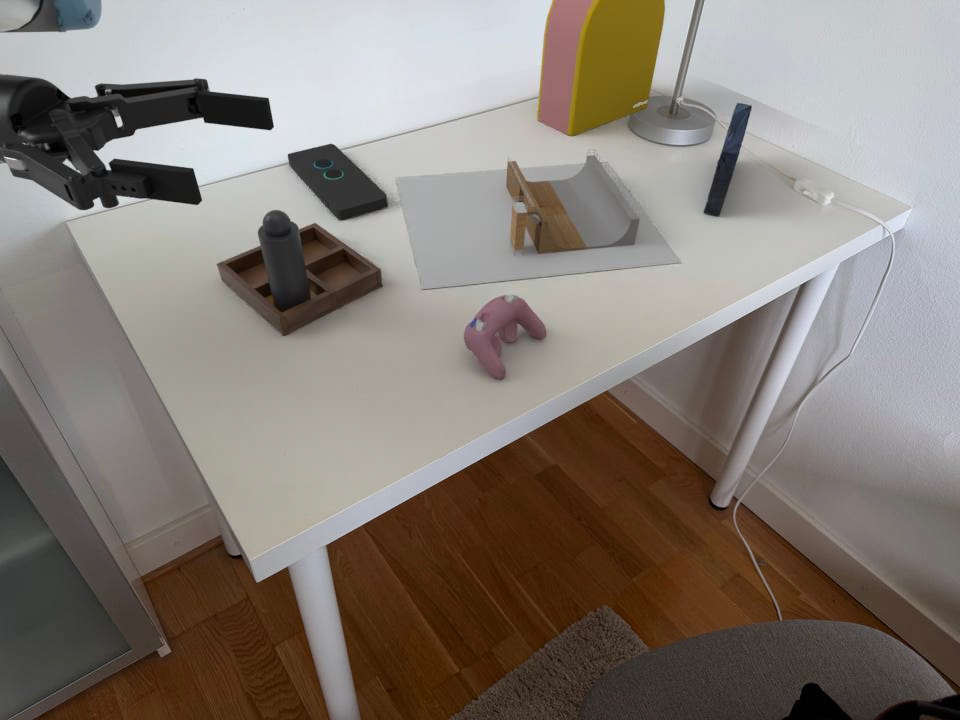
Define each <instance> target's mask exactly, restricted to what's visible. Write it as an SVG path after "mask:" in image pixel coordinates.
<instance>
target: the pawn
mask: <svg viewBox="0 0 960 720" xmlns="http://www.w3.org/2000/svg"><path fill="white" fill-rule="evenodd" d="M299 229H300V227H299V225H298V224H297V223H295V222H294V221H292V220H291V218H290V217H289V215H288V214H287V213H286V212H285V211H283V210H280V209H273V210H270V211H267V212H266V214H265V215H264V216H263V218H262V224H261V226H260V227H259V228H258V230H257V237H258V241H259V246H261V250H262V254H263V259H264V263H265V268H266V272H267V276H268V281H269V285H270V290H271V294H272V298H273V303H274V306H275V307H276V308H277V309H278V310H279V311H281V312H285V311H287V310H289V309H291V308H293V307H295V306H297V305H299V304H301V303H303V302H305V301H307V300H309V299H311V295H310V289H309V284H308V278H307V273H306V267H305V261H304V256H303V250H302V245H301V239H300V233H299Z"/></svg>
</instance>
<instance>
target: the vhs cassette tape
mask: <svg viewBox="0 0 960 720" xmlns="http://www.w3.org/2000/svg"><path fill="white" fill-rule="evenodd" d="M752 108H753V105H752V104H747V103H742V102H741V103H740V102H736V104H735V107H734V109H733V112H732V115H731V119H730V123H729V126H728V128H727V132H726V136H725V138H724V143H723V145H722V148H721V152H720V155H719V158H718V161H717V163H716V168H715V171H714V172H715V173H714V175H713V178H712V181H711V186H710V188H709V192H708V195H707V199H706V202H705V207H704V209H703V213H704V214H706V215H713V216H716V217H720V215H721V212H722V209H723V205H724V204H725V199H726V197H727V194H728V192H729V191H728V190H729V187H730V184H731V182H732V179H733V175H734V172H735V168H736V165H737V163H738V159H739V156H740V153H741V152H740V151H741V149H742V143H743V141H744V138H745V135H746V131H747V127H748V123H749V119H750V116H751V113H752Z"/></svg>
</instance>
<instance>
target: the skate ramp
mask: <svg viewBox="0 0 960 720" xmlns="http://www.w3.org/2000/svg"><path fill="white" fill-rule="evenodd" d="M589 151H590V149H588V150H587V152H589ZM507 157H508V158H507V164H506V165H507V167H506V168H503V169H501V168H500V169H490V170H477V171H476V170H475V171H464V172H463V171H462V172H449V173H436V174H435V173H434V174H424V175H421V174H420V175H411V176H409V175H408V176H397V177H395V178H394V179H395V182H396V187H397V191H398V195H399V199H400V203H401V207H402V211H403V215H404V219H405V223H406V228H407V231H408V236H409V240H410V244H411V248H412V252H413V256H414V261H415V264H416V269H417V274H418V276H419V281H420V285H421V289H422V290H429V289H430V290H431V289H439V288H449V287H450V288H451V287H459V286H470V285H477V284H479V285H480V284H487V283H488V284H489V283H497V282H499V283H500V282H506V281H516V280H526V279H536V278H537V279H538V278H544V277H545V278H547V277H556V276H566V275H574V274H576V275H577V274H585V273H594V272H603V271H614V270H624V269H629V268H630V269H631V268H641V267H642V268H643V267H650V266H651V267H652V266H662V265H672V264H680V263H682V262H681V261H680V259H679V257H678V256H677V255H676V253H675V251H673V249H672V248H671V246H670V245H669V243H667V241H666V240H665V239H664V237H663V235H662V234H661V233H660V231H659V230H658V228H656V226H655V225H654V223H653V222H652V220H651V219H650V218H649V216H648V215H647V213H646V212H645V211H644V210H643V208H642V207H641V205H640V204H639V202H638V201H637V200H636V198H635V197H634V196H633V194H632V193H631V191H630V190H629V189H628V187H627V186H626V184H625V183H624V182H623V181H622V179H621V178H620V177H619V175H618V173H617V172H616V171H615V169H614V168H613V167H612V166H611V164H610V163H609V161H607V160H606V161H604V160H603V159H602V157H601V156H600V155H599V154H598V152H597V150H596V149H593V154H592V155H591V154H590V155H589V154H587V155H586V160H585V162H580V163H570V164H569V163H568V164H557V165H556V164H555V165H544V166H543V165H541V166H529V167H519V165H518V163H517V161H516V160H511V159H510V156H509V155H507Z"/></svg>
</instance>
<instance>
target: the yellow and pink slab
mask: <svg viewBox="0 0 960 720" xmlns="http://www.w3.org/2000/svg"><path fill="white" fill-rule="evenodd" d="M665 13H666V4H665V0H552V1H551V4H550V7H549V10H548V13H547V16H546V20H545V27H544V32H543V41H542V42H543V44H542V55H541V65H540V79H539V91H538V102H537V113H536V120H537V121H539V122H540V123H542V124H544V125H546V126H548V127H550V128H552V129H554V130H555V131H559V132H561V133H563V134H564V135H567V136H569V137H575V136H577V135H579V134H582V133H584V132H587V131H590V130H593V129H595V128H598V127H600V126H603V125H605V124H608V123H610V122H614V121H616V120H619V119H621V118H624V117H627V116H629V115H632V114H635V113H638V112H640V111H642V110H645V109H647V108H648V105H649V102H648V103H646V104H643V105H640V106H638V107H635V108H633V106H634V105H635V104H637V103H639V102H644V101H646V100H648V101H649V99H650V94H651V89H652V86H653V85H652V84H653V80H654V74H655V69H656V64H657V59H658V53H659V48H660V45H661V44H660V43H661V37H662V33H663V27H664V22H665V21H664V20H665Z"/></svg>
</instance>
